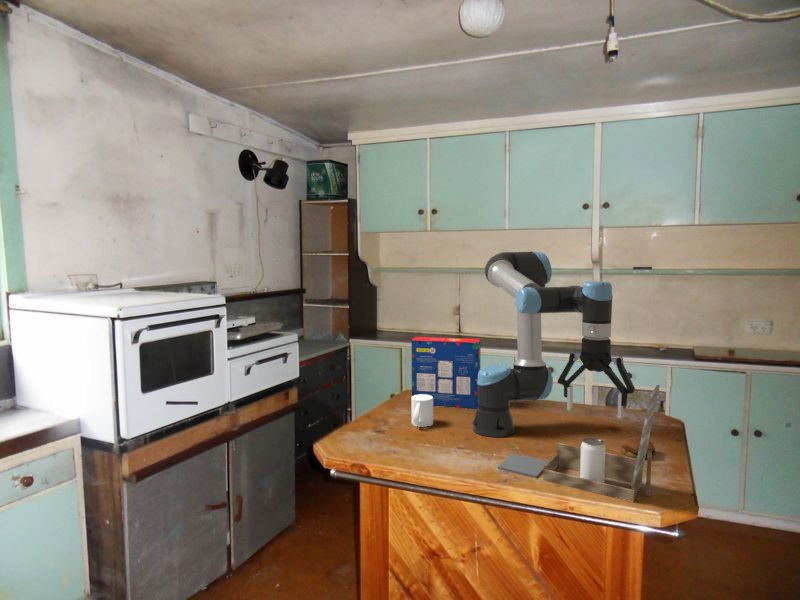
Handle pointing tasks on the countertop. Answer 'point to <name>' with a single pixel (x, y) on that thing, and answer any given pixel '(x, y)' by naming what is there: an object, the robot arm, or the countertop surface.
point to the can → (592, 459)
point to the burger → (635, 447)
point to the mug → (422, 410)
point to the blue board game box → (446, 370)
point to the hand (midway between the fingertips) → (594, 412)
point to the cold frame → (607, 464)
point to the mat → (523, 465)
